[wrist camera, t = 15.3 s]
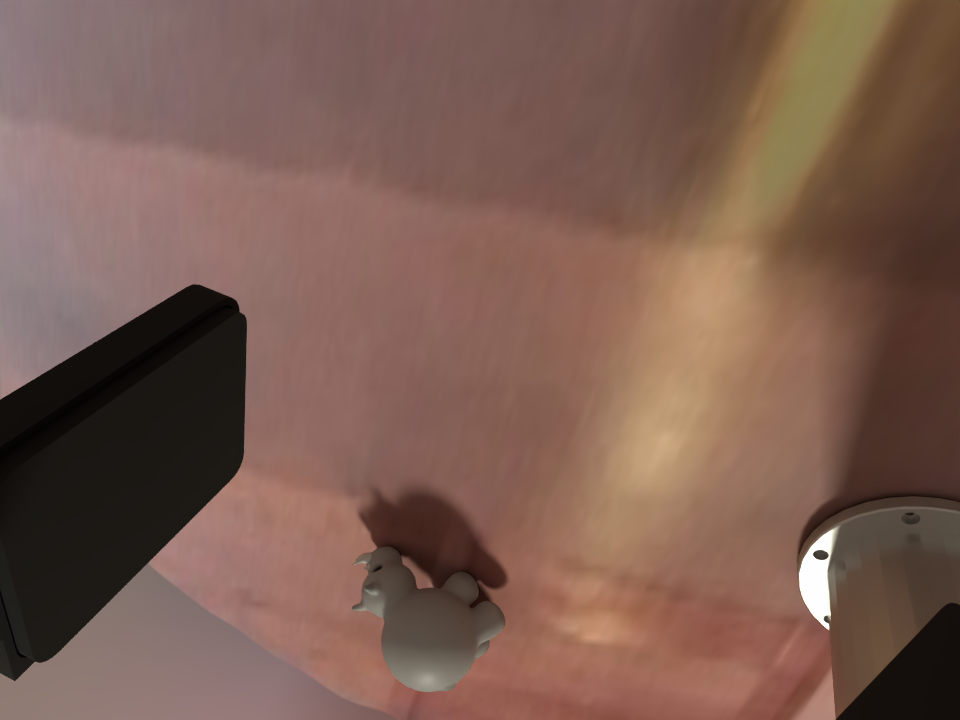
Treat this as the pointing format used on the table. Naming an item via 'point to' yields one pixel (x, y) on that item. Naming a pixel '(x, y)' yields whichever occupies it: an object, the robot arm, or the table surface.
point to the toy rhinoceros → (426, 622)
